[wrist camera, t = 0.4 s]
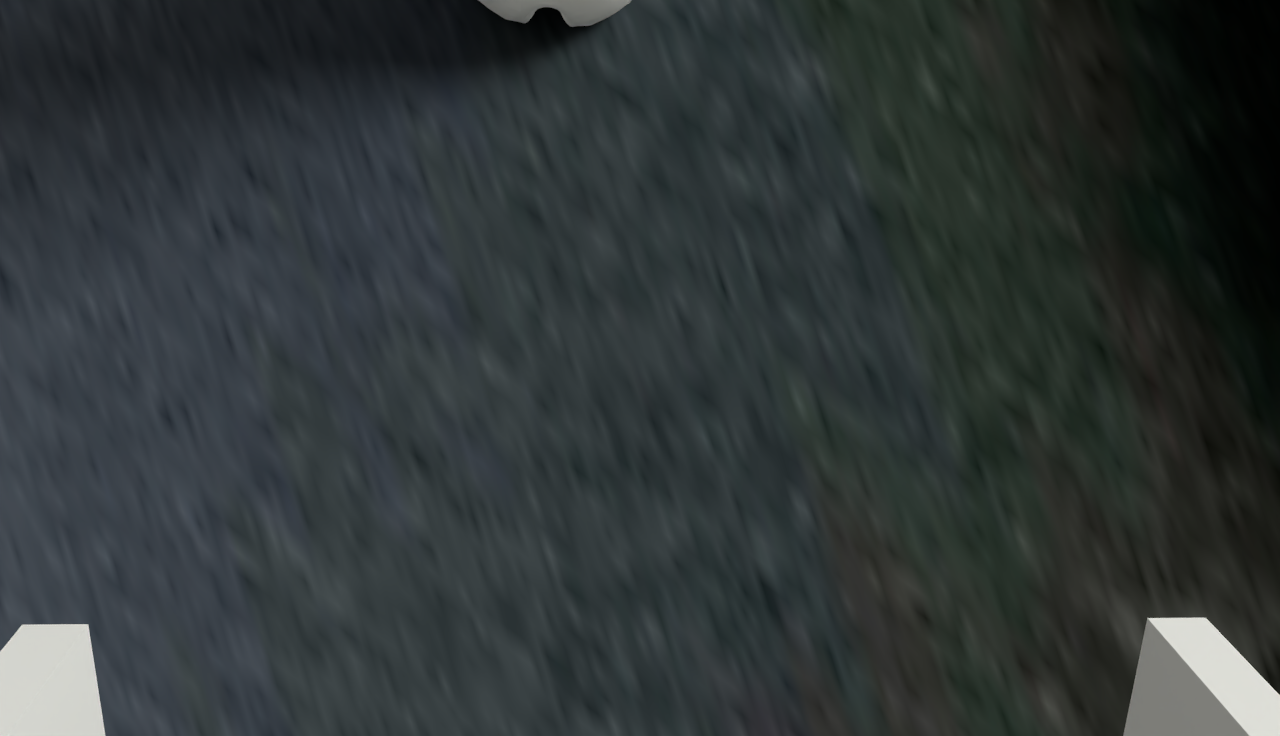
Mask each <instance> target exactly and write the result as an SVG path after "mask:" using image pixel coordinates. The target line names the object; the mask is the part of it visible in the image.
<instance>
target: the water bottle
mask: <svg viewBox="0 0 1280 736" xmlns="http://www.w3.org/2000/svg"><path fill="white" fill-rule="evenodd" d="M479 1H480V2H481V3H482V4H483V5H485V6H486V7H487V8H488V9H490V10H491V11H493V12H495V13H496V14H498V15H499V16H501V17H502V18H504V19H506V20H511V21H516V22H520V23H526V22H528V21H529V20H530V19H531V18H532V16H533V15H534V13H535V11H536V10H537V9H539V8H543V7H550V8H554V9H557V10H558V11H560V13H561V15H562V17H563V19H564V20H565V22H566V23H567V24H568V25H569V26H570V27H575V26H590V25H593V24H595V23H597V22H600V21H602V20H604V19H606V18H608V17H609V16H611V15H613V14H615V13H616V12H618V11H619V10H620V9H622V8H623V7H624V6H626V5H627V4H628V3H629V2H631V1H632V0H479Z"/></svg>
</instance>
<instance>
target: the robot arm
mask: <svg viewBox="0 0 1280 736" xmlns="http://www.w3.org/2000/svg"><path fill="white" fill-rule="evenodd" d="M0 736H105V731H104V724H103V718H102V711H101V705H100V698H99V692H98V685H97V679H96V672H95V666H94V659H93V653H92V646H91V640H90V634H89V627H88V624H56V625H22V626H21V627H20V628H19V629H18V631H17V632H16V633H15V634H14V636H13V637H12V638H11V639H10V640H9V642H8V643H7V644H6V645H5V647H4V648H3V649H2V650H1V651H0ZM1123 736H1280V695H1279V694H1278V693H1277V692H1276V691H1275V690H1274V689H1273V688H1272V687H1271V686H1270V685H1269V684H1268V683H1267V682H1266V680H1265V679H1264V678H1263V677H1262V676H1261V675H1260V674H1259V673H1258V672H1257V671H1256V670H1255V669H1254V668H1253V667H1252V666H1251V665H1250V664H1249V663H1248V662H1247V661H1246V660H1245V658H1244V657H1243V656H1242V655H1241V654H1240V653H1239V652H1238V651H1237V650H1236V649H1235V648H1234V647H1233V646H1232V645H1231V644H1230V643H1229V642H1228V641H1227V640H1226V639H1225V638H1224V636H1223V635H1222V634H1221V633H1220V632H1219V631H1218V630H1217V629H1216V628H1215V627H1214V626H1213V625H1212V624H1211V623H1210V622H1209V621H1208V620H1207V619H1206V618H1147V623H1146V628H1145V633H1144V638H1143V642H1142V647H1141V652H1140V657H1139V662H1138V667H1137V672H1136V677H1135V682H1134V687H1133V691H1132V696H1131V701H1130V706H1129V711H1128V716H1127V721H1126V726H1125V731H1124V735H1123Z"/></svg>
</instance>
